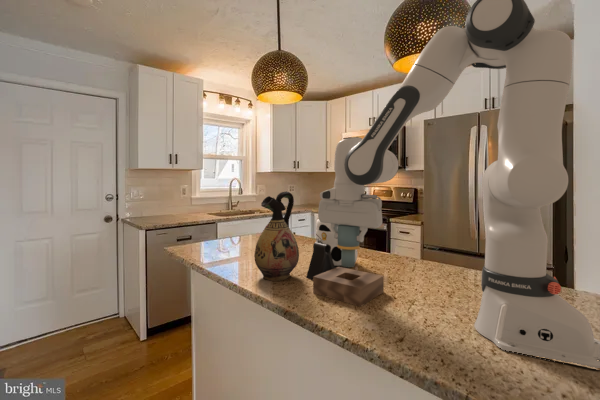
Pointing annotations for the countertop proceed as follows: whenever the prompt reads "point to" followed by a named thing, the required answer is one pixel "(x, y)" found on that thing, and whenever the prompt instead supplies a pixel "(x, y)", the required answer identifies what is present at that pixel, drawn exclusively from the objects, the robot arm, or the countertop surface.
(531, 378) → the countertop surface
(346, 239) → the leg
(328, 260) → the phone stand
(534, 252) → the robot arm
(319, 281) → the board
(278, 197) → the ceramic jug
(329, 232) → the milk container
